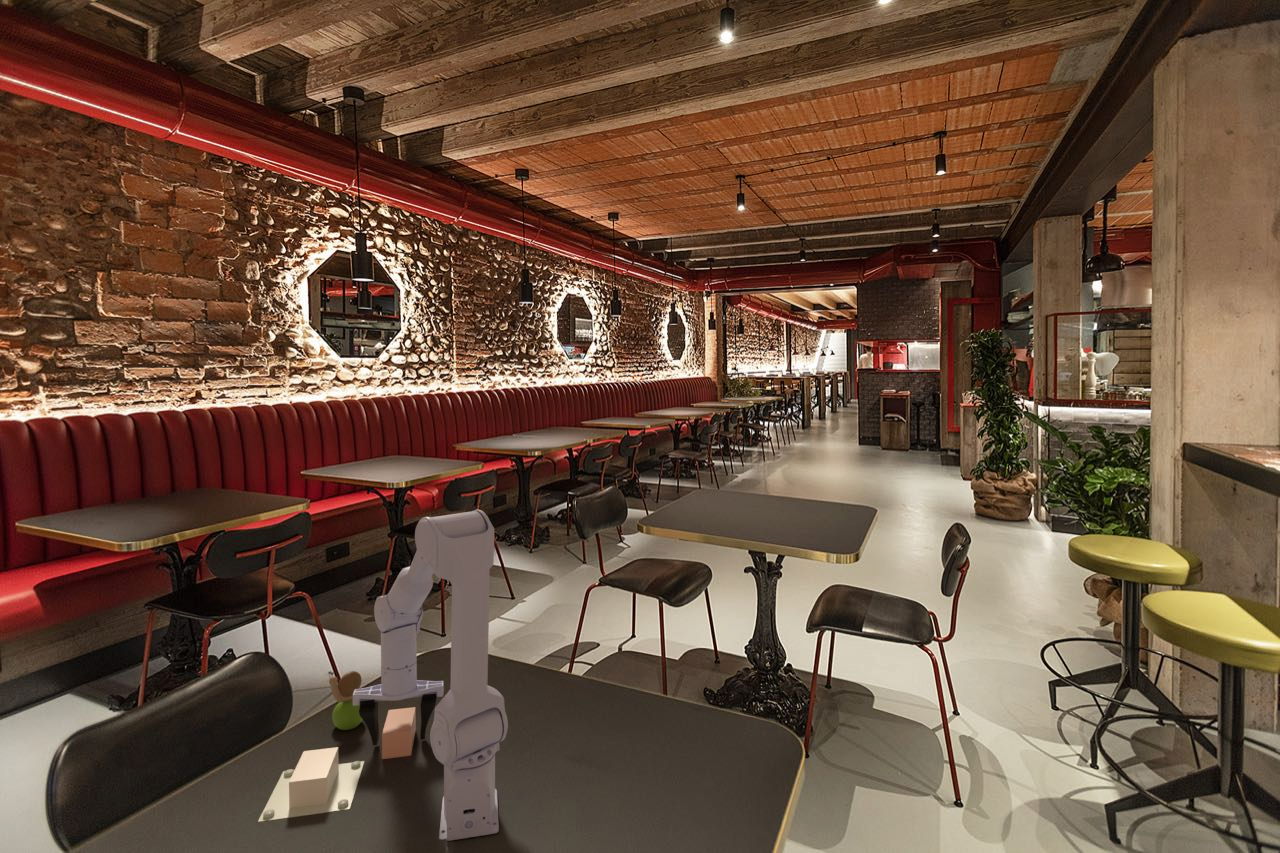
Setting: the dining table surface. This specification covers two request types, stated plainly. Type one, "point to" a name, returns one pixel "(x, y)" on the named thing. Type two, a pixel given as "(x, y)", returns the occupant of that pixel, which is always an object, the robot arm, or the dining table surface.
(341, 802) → the baseplate
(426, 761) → the dining table surface
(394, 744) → the top brick
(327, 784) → the bottom brick
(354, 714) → the snail figurine
